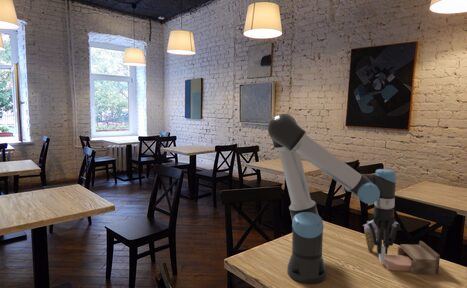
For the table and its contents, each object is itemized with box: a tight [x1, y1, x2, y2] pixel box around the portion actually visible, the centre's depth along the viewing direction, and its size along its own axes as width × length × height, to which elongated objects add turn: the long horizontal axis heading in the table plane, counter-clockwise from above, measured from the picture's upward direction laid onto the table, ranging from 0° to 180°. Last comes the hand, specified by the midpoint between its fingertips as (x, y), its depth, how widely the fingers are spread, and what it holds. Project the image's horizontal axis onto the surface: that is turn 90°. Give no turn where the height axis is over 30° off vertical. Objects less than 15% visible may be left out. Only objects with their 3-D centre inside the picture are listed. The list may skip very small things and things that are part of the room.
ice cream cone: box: [362, 220, 377, 253], centre depth 141 cm, size 7×6×15 cm
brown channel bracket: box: [396, 240, 441, 276], centre depth 128 cm, size 10×13×8 cm
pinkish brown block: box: [381, 254, 413, 272], centre depth 129 cm, size 12×9×2 cm
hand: (381, 260), depth 129 cm, fingers closed
